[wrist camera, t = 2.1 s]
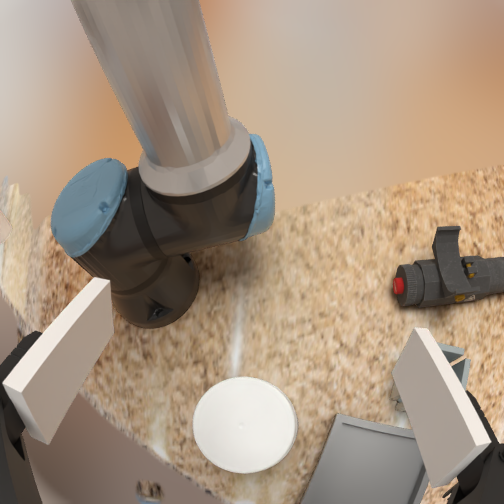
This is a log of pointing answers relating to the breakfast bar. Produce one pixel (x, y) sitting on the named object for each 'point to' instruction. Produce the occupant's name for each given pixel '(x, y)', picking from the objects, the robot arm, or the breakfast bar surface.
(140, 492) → the breakfast bar surface
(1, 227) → the foam cup
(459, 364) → the cup
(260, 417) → the supplement tub
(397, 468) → the tray
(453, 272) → the laser sight
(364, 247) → the breakfast bar surface
